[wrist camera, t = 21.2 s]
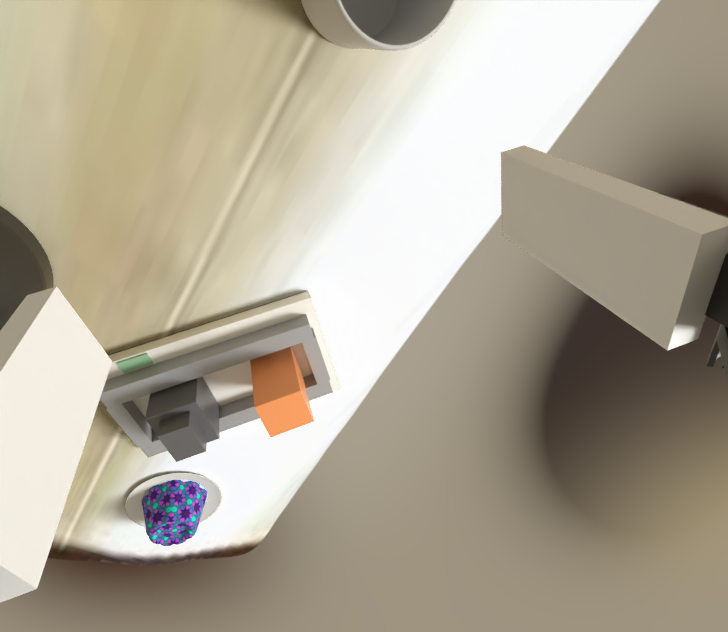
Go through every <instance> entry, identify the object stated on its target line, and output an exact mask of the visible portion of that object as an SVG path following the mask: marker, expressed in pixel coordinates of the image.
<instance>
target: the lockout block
mask: <svg viewBox="0 0 728 632" xmlns="http://www.w3.org/2000/svg"><path fill="white" fill-rule="evenodd" d="M250 365H251V376H252V386H253V397H254V407H255V409H256V411H257V413H258V415H259V417H260V418H261V420H262V422H263V424H264V426H265V427H266V429H267V431H268V433H269V435H270V437H272V436H275V435H278V434H280V433H283V432H286V431H288V430H291V429H294V428H297V427H299V426H302V425H305V424H307V423H310V422H313V421H314V420H313V416H312V412H311V408H310V404H309V400H308V395H307V391H306V387H305V383H304V379H303V375H302V371H301V369H300V367H299V364H298V362H297V359H296V357H295V355H294V352H293V350H292V348H291V347H288V348H285V349H282V350H279V351H276V352H273V353H270V354H267V355H264V356H261V357H258V358H255V359H252V360H250Z"/></svg>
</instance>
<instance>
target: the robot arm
mask: <svg viewBox="0 0 728 632" xmlns="http://www.w3.org/2000/svg"><path fill="white" fill-rule="evenodd" d="M501 199H502V235H503V236H505V237H506V238H507V239H509V240H510V241H511V242H513V243H514V244H516V245H517V246H519V247H520V248H522V249H523V250H524V251H526V252H527V253H529V254H530V255H532V256H533V257H535V258H536V259H537V260H539V261H540V262H542V263H543V264H544V265H546V266H547V267H549V268H550V269H552V270H553V271H554V272H556V273H557V274H559V275H560V276H562V277H563V278H564V279H566V280H567V281H569V282H570V283H572V284H573V285H574V286H576V287H577V288H579V289H580V290H582V291H583V292H584V293H586V294H587V295H589V296H590V297H592V298H593V299H594V300H596V301H597V302H599V303H600V304H602V305H603V306H605V307H606V308H607V309H609V310H610V311H612V312H613V313H615V314H616V315H617V316H619V317H620V318H622V319H623V320H625V321H626V322H627V323H629V324H630V325H632V326H633V327H635V328H636V329H637V330H639V331H640V332H642V333H643V334H645V335H646V336H647V337H649V338H650V339H652V340H653V341H655V342H656V343H657V344H659V345H660V346H662V347H663V348H665V349H666V350H670V349H673V348H675V347H678V346H680V345H683V344H686V343H688V342H691V341H694V340H696V339H698V337H699V334H700V331H701V329H702V325H703V323H704V320H705V317H706V316H708V317H710V318H712V319H714V320H715V321H717V322H719V323H721V326H720V328H719V331H718V333H717V336H716V338H715V341H714V344H713V346H712V349H711V351H710V354H709V357H708V360H707V366H710V367H713V365H714V363H715V360H716V359H717V358H719V357H720V356H721V358H722V361H723V366H722V368H724V369H725V373H726V377H727V380H728V216H725V215H722V214H720V213H717V212H714V211H711V210H708V209H705V208H698V206H697V205H694V204H691V203H688V202H682V200H680V199H677V198H674V197H671V196H668V195H666V194H662V193H657V192H653V191H650V190H648V189H645V188H642V187H639V186H636V185H633V184H631V183H628V182H625V181H622V180H619V179H617V178H614V177H611V176H608V175H605V174H603V173H600V172H597V171H594V170H591V169H588V168H586V167H583V166H580V165H577V164H574V163H572V162H569V161H566V160H563V159H560V158H557V157H555V156H552V155H549V154H546V153H543V152H541V151H538V150H535V149H532V148H529V147H527V146H521V147H518V148H514V149H511V150H508V151H505V152H501ZM111 364H112V360H111V359H110V358H109V356H108V355H107V354H106V352H105V351H104V349H103V348H102V347H101V345H100V344H99V343H98V341H97V340H96V339H95V337H94V336H93V335H92V333H91V332H90V331H89V329H88V328H87V327H86V325H85V324H84V323H83V321H82V320H81V319H80V317H79V316H78V315H77V313H76V312H75V311H74V309H73V308H72V307H71V305H70V304H69V303H68V301H67V300H66V299H65V297H64V296H63V295H62V293H61V292H60V291H59V289H58V288H57V286H56V287H53V274H52V269H51V265H50V262H49V260H48V257H47V255H46V253H45V251H44V250H43V248H42V246H41V245H40V243H39V242H38V240H37V239H36V238H35V236H34V235H33V234H32V233H31V232H30V231H29V229H28V228H27V227H26V226H25V225H24V224H23V223H21V222H20V221H19V220H18V219H17V218H16V217H15V216H13V215H12V214H11V213H9V212H8V211H7V210H5V209H4V208H2V207H1V206H0V602H3V601H5V600H8V599H11V598H13V597H16V596H19V595H21V594H24V593H27V592H29V591H32V590H35V589H37V586H38V583H39V581H40V577H41V575H42V572H43V569H44V566H45V563H46V560H47V557H48V554H49V551H50V548H51V545H52V542H53V539H54V535H55V532H56V529H57V526H58V523H59V520H60V517H61V514H62V511H63V508H64V505H65V502H66V499H67V496H68V493H69V490H70V487H71V484H72V481H73V478H74V475H75V472H76V469H77V466H78V463H79V460H80V457H81V454H82V451H83V448H84V445H85V442H86V439H87V436H88V433H89V430H90V427H91V424H92V421H93V418H94V415H95V412H96V409H97V406H98V403H99V400H100V397H101V394H102V391H103V388H104V385H105V382H106V379H107V376H108V373H109V370H110V367H111Z"/></svg>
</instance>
